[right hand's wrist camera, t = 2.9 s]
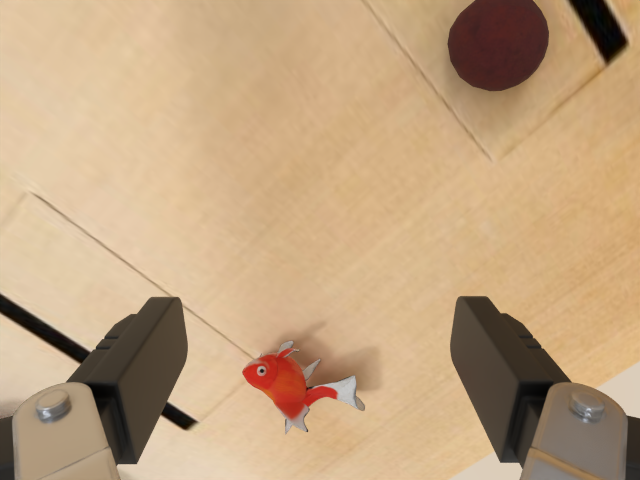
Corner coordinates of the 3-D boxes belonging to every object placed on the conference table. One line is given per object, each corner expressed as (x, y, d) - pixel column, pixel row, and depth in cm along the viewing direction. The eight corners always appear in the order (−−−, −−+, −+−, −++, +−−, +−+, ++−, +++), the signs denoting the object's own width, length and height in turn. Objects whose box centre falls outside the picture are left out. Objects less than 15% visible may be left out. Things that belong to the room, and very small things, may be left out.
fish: (303, 308, 41) (302, 411, 35) (381, 351, 51) (390, 437, 45) (232, 334, 46) (220, 427, 40) (315, 368, 56) (315, 447, 50)
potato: (500, 100, 38) (537, 104, 31) (424, 73, 37) (447, 71, 30) (538, 16, 35) (588, 1, 29) (458, -15, 34) (491, -38, 28)
